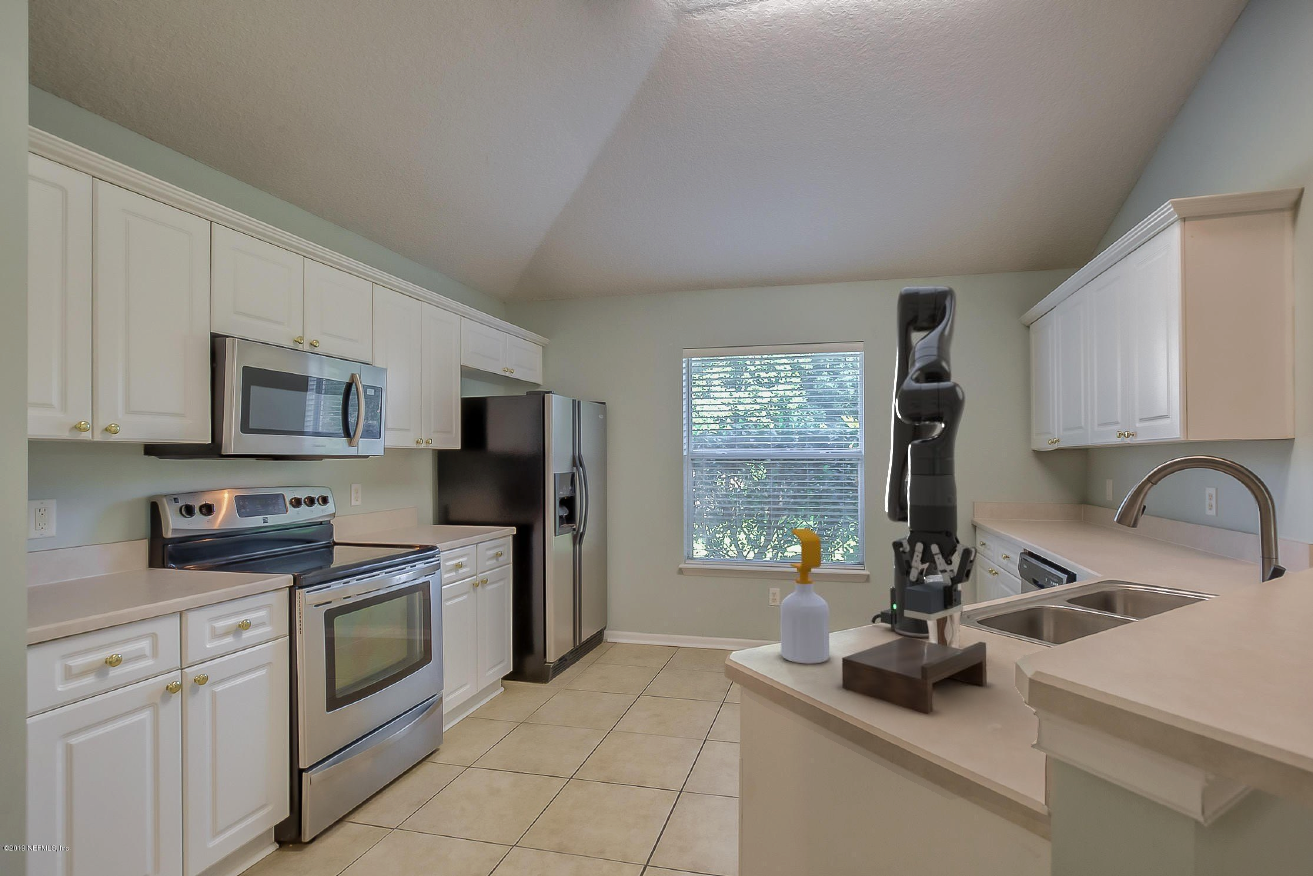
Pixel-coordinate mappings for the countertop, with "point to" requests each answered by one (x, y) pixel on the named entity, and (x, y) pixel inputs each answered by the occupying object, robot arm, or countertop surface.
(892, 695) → the board
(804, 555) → the soap bottle
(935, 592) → the stepped grey pillar
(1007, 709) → the countertop surface
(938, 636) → the beer glass
